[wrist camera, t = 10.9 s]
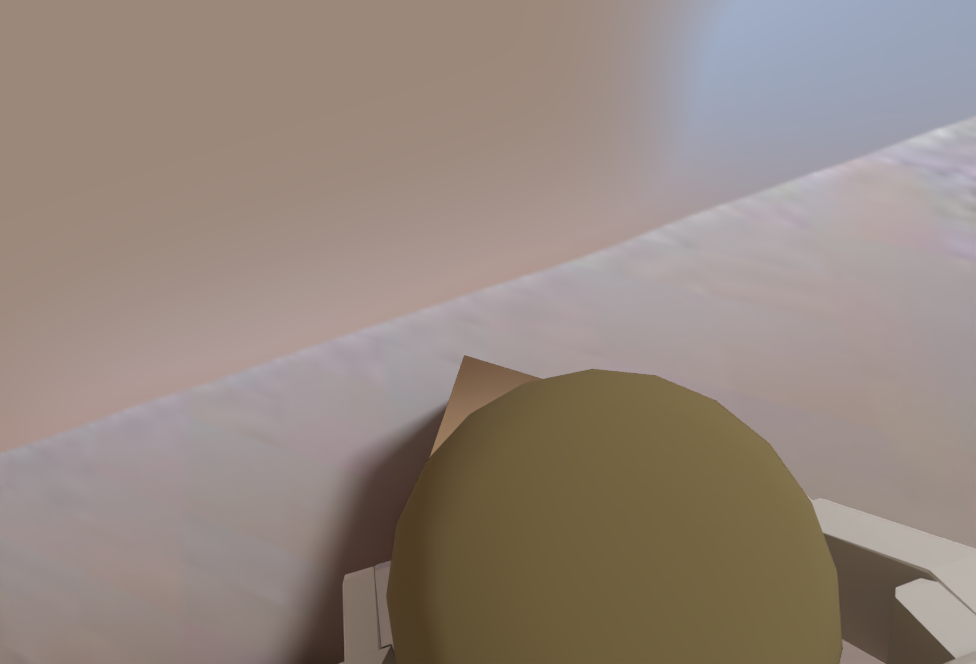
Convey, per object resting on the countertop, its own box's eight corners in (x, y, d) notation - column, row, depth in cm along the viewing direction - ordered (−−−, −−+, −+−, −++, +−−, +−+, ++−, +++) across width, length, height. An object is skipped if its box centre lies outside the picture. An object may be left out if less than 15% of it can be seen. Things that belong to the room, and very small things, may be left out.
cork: (390, 660, 16) (219, 862, 5) (457, 424, 18) (425, 242, 7) (631, 731, 15) (945, 1100, 5) (673, 482, 17) (964, 375, 7)
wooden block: (467, 389, 33) (464, 355, 27) (640, 442, 32) (675, 419, 26) (368, 686, 28) (340, 720, 23) (566, 756, 27) (588, 810, 22)
